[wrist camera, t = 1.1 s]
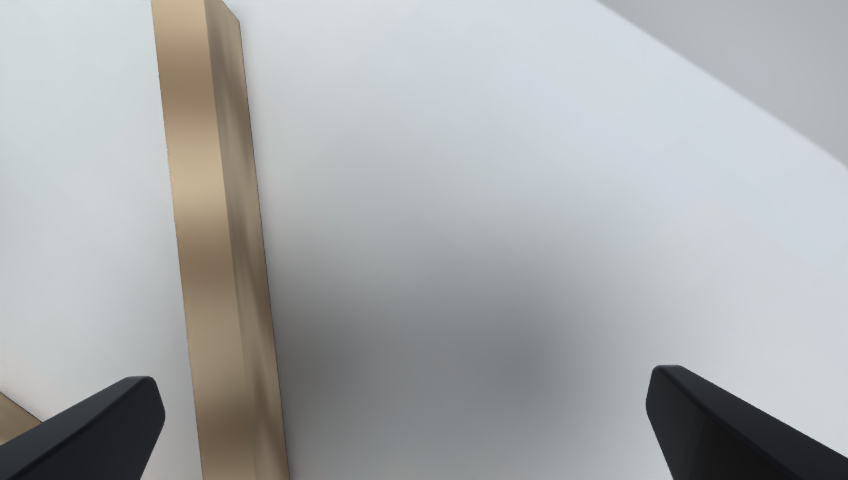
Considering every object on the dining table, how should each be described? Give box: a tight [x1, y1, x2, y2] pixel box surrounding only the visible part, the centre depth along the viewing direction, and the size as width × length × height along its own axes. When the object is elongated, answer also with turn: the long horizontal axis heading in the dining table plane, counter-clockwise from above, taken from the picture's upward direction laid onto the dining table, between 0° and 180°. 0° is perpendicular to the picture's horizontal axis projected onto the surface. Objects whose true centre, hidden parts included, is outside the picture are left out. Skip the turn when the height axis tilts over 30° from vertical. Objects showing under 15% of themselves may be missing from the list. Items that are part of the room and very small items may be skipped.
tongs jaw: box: [151, 0, 290, 480], centre depth 18 cm, size 22×2×4 cm, turn 6°
